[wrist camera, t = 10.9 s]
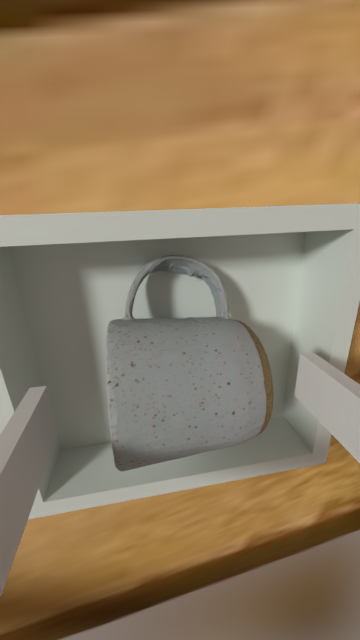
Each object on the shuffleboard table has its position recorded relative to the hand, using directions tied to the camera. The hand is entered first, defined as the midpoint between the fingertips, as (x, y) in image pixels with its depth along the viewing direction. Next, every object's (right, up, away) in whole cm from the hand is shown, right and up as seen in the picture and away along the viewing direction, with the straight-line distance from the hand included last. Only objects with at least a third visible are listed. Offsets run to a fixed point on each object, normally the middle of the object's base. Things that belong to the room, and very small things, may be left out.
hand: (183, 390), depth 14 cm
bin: (-1, +2, +6) cm, 6 cm away
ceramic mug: (-1, +3, +5) cm, 5 cm away
